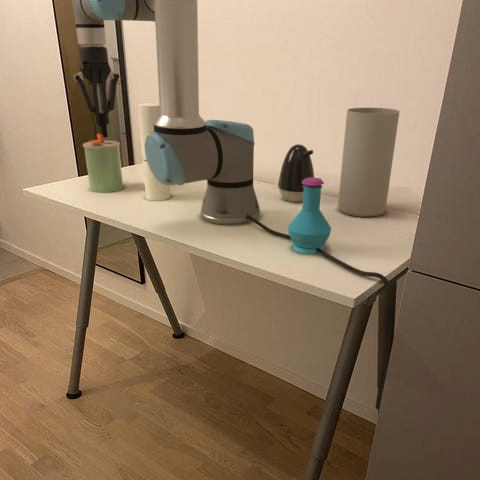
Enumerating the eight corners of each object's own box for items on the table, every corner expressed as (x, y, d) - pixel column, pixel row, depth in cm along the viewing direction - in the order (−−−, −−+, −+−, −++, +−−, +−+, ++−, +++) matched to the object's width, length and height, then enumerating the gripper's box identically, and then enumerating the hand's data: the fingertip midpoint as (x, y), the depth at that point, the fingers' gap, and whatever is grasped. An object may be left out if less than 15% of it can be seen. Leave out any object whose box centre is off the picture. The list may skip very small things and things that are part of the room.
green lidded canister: (129, 189, 155) (124, 144, 148) (95, 194, 150) (89, 147, 143) (117, 182, 163) (112, 139, 156) (84, 186, 158) (78, 142, 151)
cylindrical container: (168, 200, 144) (162, 105, 132) (143, 200, 144) (135, 105, 132) (172, 193, 150) (166, 103, 138) (148, 193, 150) (140, 102, 138)
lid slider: (104, 143, 148) (103, 135, 147) (93, 144, 147) (92, 136, 146) (99, 141, 151) (98, 133, 150) (89, 142, 150) (88, 134, 149)
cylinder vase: (365, 202, 143) (377, 106, 131) (395, 214, 133) (410, 112, 121) (328, 207, 138) (337, 109, 126) (356, 220, 128) (368, 114, 116)
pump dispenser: (296, 206, 138) (299, 149, 131) (270, 198, 145) (272, 143, 138) (321, 200, 144) (325, 144, 137) (295, 193, 151) (298, 139, 144)
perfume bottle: (325, 240, 115) (331, 174, 108) (332, 255, 107) (339, 184, 100) (284, 241, 115) (288, 174, 107) (289, 256, 107) (293, 185, 99)
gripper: (110, 46, 144) (120, 133, 155) (64, 46, 138) (78, 137, 149) (120, 46, 138) (129, 136, 150) (73, 46, 132) (86, 140, 144)
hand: (103, 136), depth 149 cm, fingers closed
